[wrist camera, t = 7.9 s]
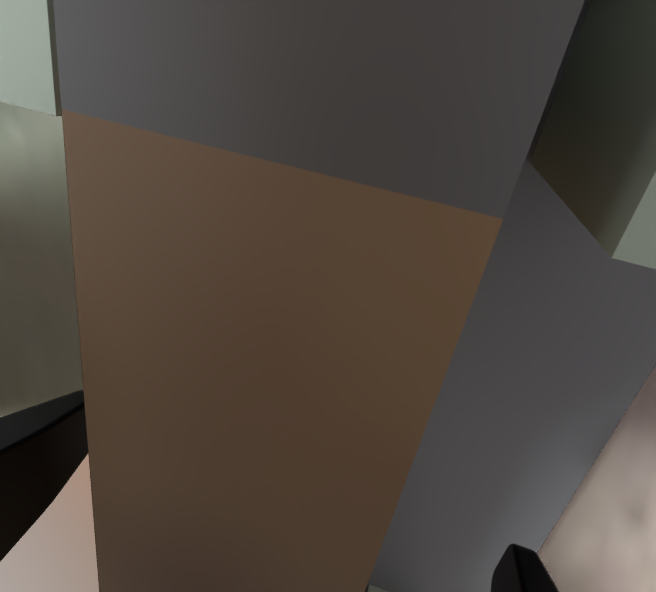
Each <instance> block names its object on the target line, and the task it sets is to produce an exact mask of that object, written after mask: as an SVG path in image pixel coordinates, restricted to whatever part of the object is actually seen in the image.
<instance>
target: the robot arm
mask: <svg viewBox="0 0 656 592" xmlns="http://www.w3.org/2000/svg"><path fill="white" fill-rule="evenodd" d="M87 454H88V441H87V428H86V415H85V402H84V390H80V391H76V392H73V393H70V394H68V395H65V396H62V397H59V398H56V399H53V400H50V401H47V402H44V403H41V404H39V405H36V406H33V407H30V408H27V409H24V410H21V411H18V412H15V413H12V414H10V415H7V416H4V417H1V418H0V561H1V560H2V559H3V558H4V557H5V556H6V554H7V553H8V552H9V551H10V550H11V549H12V547H13V546H14V545H15V544H16V543H17V542H18V541H19V540H20V538H21V537H22V536H23V535H24V534H25V533H26V532H27V531H28V529H29V528H30V527H31V526H32V525H33V524H34V523H35V522H36V520H37V519H38V518H39V517H40V516H41V515H42V514H43V512H44V511H45V510H46V509H47V508H48V506H49V505H50V504H51V503H52V502H53V500H54V499H55V498H56V496H57V495H58V493H59V492H60V491H61V490H62V488H63V487H64V485H65V484H66V483H67V481H68V480H69V479H70V477H71V476H72V474H73V473H74V472H75V470H76V469H77V468H78V466H79V465H80V464H81V462H82V461H83V459H84V458H85V457H86V455H87ZM491 592H559V590H558V589H557V587H556V585H555V583H554V582H553V580H552V578H551V577H550V575H549V573H548V571H547V570H546V568H545V566H544V564H543V563H542V561H541V559H540V558H539V556H538V554H537V553H536V552H535V551H533V550H532V549H529V548H526V547H523V546H521V545H518V544H515V543H512V544H510V545H509V546H508V547H507V549H506V550H505V552H504V554H503V556H502V557H501V559H500V561H499V563H498V564H497V566H496V568H495V570H494V572H493V576H492V581H491Z"/></svg>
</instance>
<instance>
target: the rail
mask: <svg viewBox="0 0 656 592" xmlns="http://www.w3.org/2000/svg"><path fill="white" fill-rule="evenodd" d="M584 1H585V0H53V6H54V19H55V31H56V44H57V57H58V70H59V83H60V95H61V108H62V121H63V134H64V147H65V159H66V172H67V185H68V198H69V211H70V223H71V236H72V249H73V262H74V274H75V287H76V300H77V313H78V326H79V338H80V351H81V364H82V377H83V390H84V402H85V415H86V428H87V441H88V454H89V466H90V478H91V491H92V505H93V518H94V530H95V543H96V555H97V568H98V581H99V592H365V589H366V586H367V584H368V581H369V578H370V576H371V573H372V570H373V568H374V565H375V562H376V559H377V557H378V554H379V551H380V549H381V546H382V543H383V541H384V538H385V535H386V533H387V530H388V527H389V525H390V522H391V519H392V516H393V514H394V511H395V508H396V506H397V503H398V500H399V498H400V495H401V492H402V490H403V487H404V484H405V482H406V479H407V476H408V474H409V471H410V468H411V465H412V463H413V460H414V457H415V455H416V452H417V449H418V447H419V444H420V441H421V439H422V436H423V433H424V431H425V428H426V425H427V422H428V420H429V417H430V414H431V412H432V409H433V406H434V404H435V401H436V398H437V396H438V393H439V390H440V388H441V385H442V382H443V379H444V377H445V374H446V371H447V369H448V366H449V363H450V361H451V358H452V355H453V353H454V350H455V347H456V345H457V342H458V339H459V337H460V334H461V331H462V328H463V326H464V323H465V320H466V318H467V315H468V312H469V310H470V307H471V304H472V302H473V299H474V296H475V294H476V291H477V288H478V285H479V283H480V280H481V277H482V275H483V272H484V269H485V267H486V264H487V261H488V259H489V256H490V253H491V251H492V248H493V245H494V242H495V240H496V237H497V234H498V232H499V229H500V226H501V224H502V221H503V218H504V216H505V213H506V210H507V208H508V205H509V202H510V200H511V197H512V194H513V191H514V189H515V186H516V183H517V181H518V178H519V175H520V173H521V170H522V167H523V165H524V162H525V159H526V157H527V154H528V151H529V148H530V146H531V143H532V140H533V138H534V135H535V132H536V130H537V127H538V124H539V122H540V119H541V116H542V114H543V111H544V108H545V106H546V103H547V100H548V97H549V95H550V92H551V89H552V87H553V84H554V81H555V79H556V76H557V73H558V71H559V68H560V65H561V63H562V60H563V57H564V54H565V52H566V49H567V46H568V44H569V41H570V38H571V36H572V33H573V30H574V28H575V25H576V22H577V20H578V17H579V14H580V11H581V9H582V6H583V3H584Z"/></svg>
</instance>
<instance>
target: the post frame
mask: <svg viewBox="0 0 656 592" xmlns="http://www.w3.org/2000/svg"><path fill="white" fill-rule="evenodd" d="M0 102H3V103H7V104H11V105H15V106H19V107H23V108H27V109H30V110H34V111H38V112H42V113H46V114H50V115H54V116H62V108H61V95H60V83H59V70H58V57H57V44H56V31H55V19H54V6H53V0H0ZM655 365H656V0H585V1H584V3H583V6H582V9H581V11H580V14H579V17H578V20H577V22H576V25H575V28H574V30H573V33H572V36H571V38H570V41H569V44H568V46H567V49H566V52H565V54H564V57H563V60H562V63H561V65H560V68H559V71H558V73H557V76H556V79H555V81H554V84H553V87H552V89H551V92H550V95H549V97H548V100H547V103H546V106H545V108H544V111H543V114H542V116H541V119H540V122H539V124H538V127H537V130H536V132H535V135H534V138H533V140H532V143H531V146H530V148H529V151H528V154H527V157H526V159H525V162H524V165H523V167H522V170H521V173H520V175H519V178H518V181H517V183H516V186H515V189H514V191H513V194H512V197H511V200H510V202H509V205H508V208H507V210H506V213H505V216H504V218H503V221H502V224H501V226H500V229H499V232H498V234H497V237H496V240H495V242H494V245H493V248H492V251H491V253H490V256H489V259H488V261H487V264H486V267H485V269H484V272H483V275H482V277H481V280H480V283H479V285H478V288H477V291H476V294H475V296H474V299H473V302H472V304H471V307H470V310H469V312H468V315H467V318H466V320H465V323H464V326H463V328H462V331H461V334H460V337H459V339H458V342H457V345H456V347H455V350H454V353H453V355H452V358H451V361H450V363H449V366H448V369H447V371H446V374H445V377H444V379H443V382H442V385H441V388H440V390H439V393H438V396H437V398H436V401H435V404H434V406H433V409H432V412H431V414H430V417H429V420H428V422H427V425H426V428H425V431H424V433H423V436H422V439H421V441H420V444H419V447H418V449H417V452H416V455H415V457H414V460H413V463H412V465H411V468H410V471H409V474H408V476H407V479H406V482H405V484H404V487H403V490H402V492H401V495H400V498H399V500H398V503H397V506H396V508H395V511H394V514H393V516H392V519H391V522H390V525H389V527H388V530H387V533H386V535H385V538H384V541H383V543H382V546H381V549H380V551H379V554H378V557H377V559H376V562H375V565H374V568H373V570H372V573H371V576H370V578H369V581H368V584H367V586H366V589H365V592H491V581H492V576H493V572H494V570H495V568H496V566H497V564H498V563H499V561H500V559H501V557H502V556H503V554H504V552H505V550H506V549H507V547H508V546H509V545H510V544H512V543H515V544H518V545H521V546H523V547H526V548H529V549H532V550H533V551H535V552H536V553H537V552H538V550H539V549H540V547H541V546H542V544H543V542H544V541H545V539H546V538H547V536H548V535H549V533H550V531H551V530H552V528H553V527H554V525H555V523H556V522H557V520H558V519H559V517H560V516H561V514H562V512H563V511H564V509H565V508H566V506H567V504H568V503H569V501H570V500H571V498H572V496H573V495H574V493H575V492H576V490H577V489H578V487H579V485H580V484H581V482H582V481H583V479H584V477H585V476H586V474H587V473H588V471H589V469H590V468H591V466H592V465H593V463H594V462H595V460H596V458H597V457H598V455H599V454H600V452H601V450H602V449H603V447H604V446H605V444H606V443H607V441H608V439H609V438H610V436H611V435H612V433H613V431H614V430H615V428H616V427H617V425H618V423H619V422H620V420H621V419H622V417H623V416H624V414H625V412H626V411H627V409H628V408H629V406H630V404H631V403H632V401H633V400H634V398H635V396H636V395H637V393H638V392H639V390H640V389H641V387H642V385H643V384H644V382H645V381H646V379H647V377H648V376H649V374H650V373H651V371H652V370H653V368H654V366H655Z"/></svg>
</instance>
